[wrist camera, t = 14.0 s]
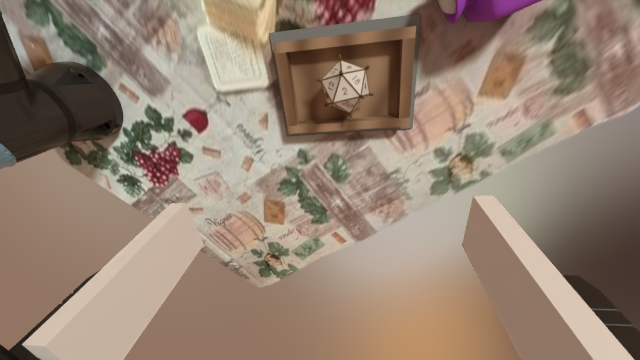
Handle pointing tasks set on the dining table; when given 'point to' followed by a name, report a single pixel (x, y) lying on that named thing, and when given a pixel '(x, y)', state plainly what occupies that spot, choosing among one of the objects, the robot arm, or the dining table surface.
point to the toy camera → (482, 9)
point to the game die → (345, 86)
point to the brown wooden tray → (359, 49)
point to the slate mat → (349, 29)
